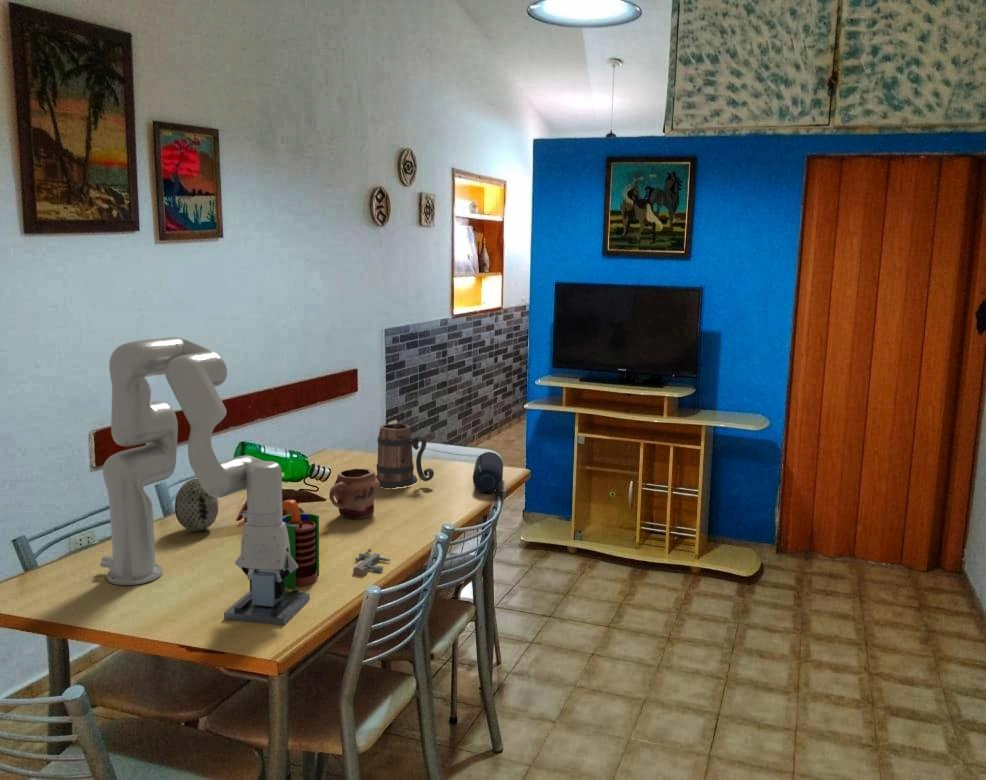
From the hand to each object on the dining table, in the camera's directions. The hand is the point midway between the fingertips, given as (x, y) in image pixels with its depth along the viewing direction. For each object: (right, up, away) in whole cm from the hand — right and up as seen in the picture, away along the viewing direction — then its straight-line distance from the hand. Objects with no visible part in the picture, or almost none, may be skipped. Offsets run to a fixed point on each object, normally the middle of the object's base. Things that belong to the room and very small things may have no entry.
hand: (267, 594), depth 191 cm
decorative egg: (-34, +6, +53) cm, 63 cm away
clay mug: (+8, +7, +67) cm, 68 cm away
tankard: (+19, +13, +104) cm, 107 cm away
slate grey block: (0, -1, 0) cm, 1 cm away
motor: (+3, -1, +17) cm, 17 cm away
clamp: (+19, 0, +28) cm, 34 cm away
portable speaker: (+49, +13, +104) cm, 115 cm away
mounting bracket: (0, -3, 0) cm, 3 cm away
